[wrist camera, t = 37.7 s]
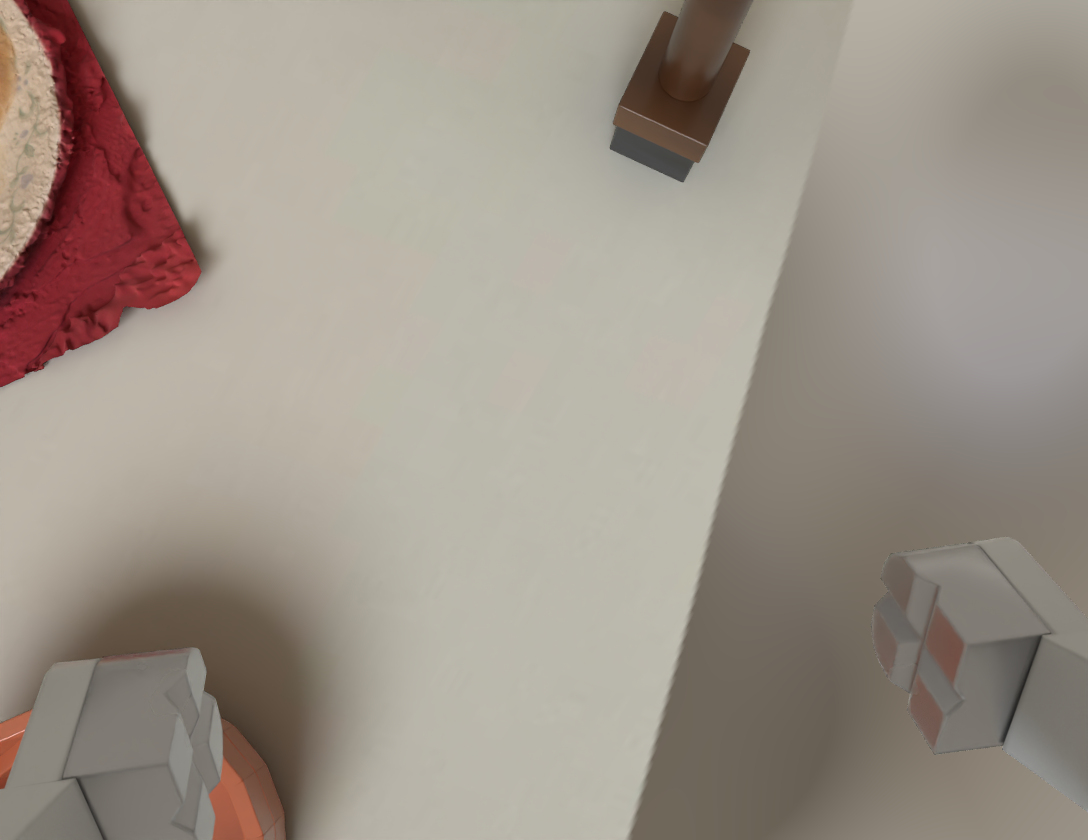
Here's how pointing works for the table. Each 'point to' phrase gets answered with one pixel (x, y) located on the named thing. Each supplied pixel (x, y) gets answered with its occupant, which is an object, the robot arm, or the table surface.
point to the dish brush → (681, 86)
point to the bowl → (238, 800)
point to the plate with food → (72, 197)
